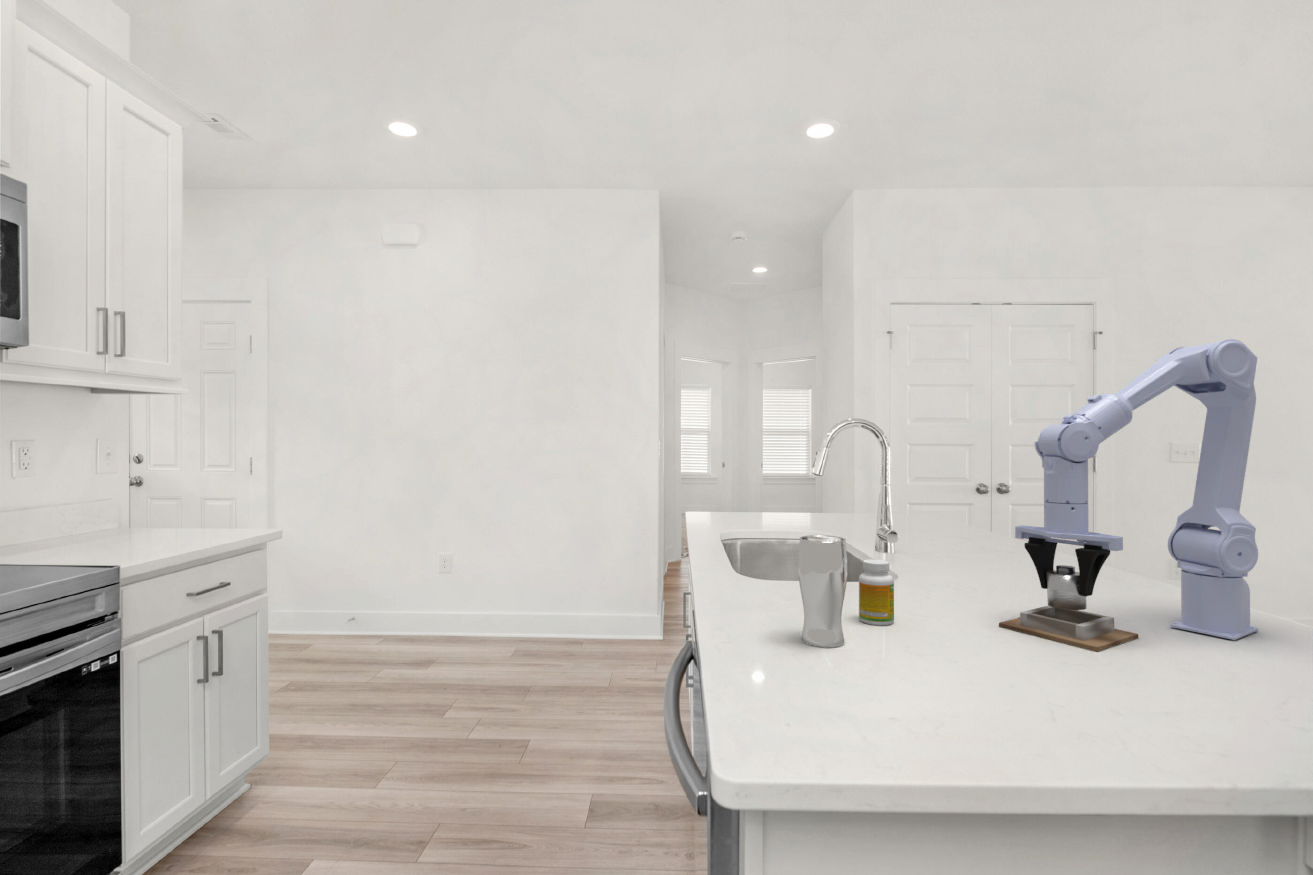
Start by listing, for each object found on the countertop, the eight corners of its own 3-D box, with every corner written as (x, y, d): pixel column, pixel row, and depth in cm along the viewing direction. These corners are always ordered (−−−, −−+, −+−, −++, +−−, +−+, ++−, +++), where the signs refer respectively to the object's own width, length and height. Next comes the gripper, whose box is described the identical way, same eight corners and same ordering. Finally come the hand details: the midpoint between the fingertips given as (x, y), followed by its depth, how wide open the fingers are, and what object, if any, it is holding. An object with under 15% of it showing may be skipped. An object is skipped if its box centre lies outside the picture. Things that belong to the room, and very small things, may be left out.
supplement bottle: (896, 627, 100) (896, 565, 100) (860, 625, 101) (860, 563, 101) (891, 617, 106) (890, 558, 106) (857, 616, 107) (857, 557, 107)
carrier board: (1041, 615, 106) (1040, 600, 106) (1138, 637, 94) (1138, 620, 94) (998, 626, 100) (998, 610, 100) (1097, 651, 88) (1097, 632, 88)
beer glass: (794, 645, 91) (794, 540, 91) (802, 631, 98) (802, 533, 98) (845, 651, 89) (844, 543, 89) (849, 637, 95) (849, 536, 95)
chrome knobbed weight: (1060, 601, 101) (1059, 562, 101) (1093, 607, 96) (1092, 567, 96) (1040, 604, 98) (1039, 565, 99) (1073, 611, 94) (1072, 570, 94)
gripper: (1004, 499, 102) (1004, 585, 102) (1105, 507, 89) (1106, 605, 89) (1028, 497, 105) (1029, 580, 105) (1129, 505, 93) (1130, 598, 93)
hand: (1066, 591), depth 97 cm, fingers closed on chrome knobbed weight, 5 cm apart
